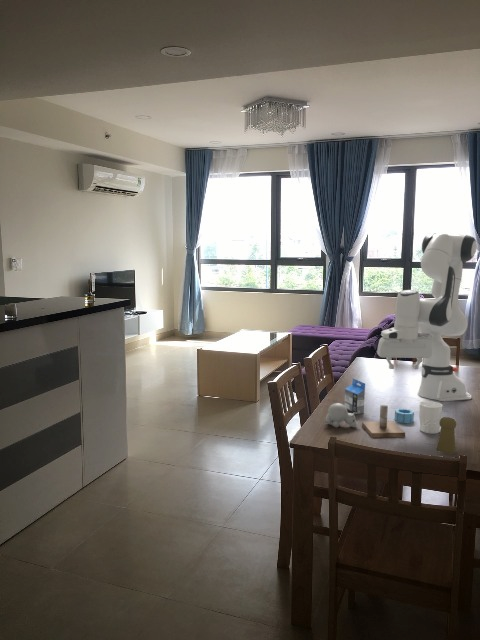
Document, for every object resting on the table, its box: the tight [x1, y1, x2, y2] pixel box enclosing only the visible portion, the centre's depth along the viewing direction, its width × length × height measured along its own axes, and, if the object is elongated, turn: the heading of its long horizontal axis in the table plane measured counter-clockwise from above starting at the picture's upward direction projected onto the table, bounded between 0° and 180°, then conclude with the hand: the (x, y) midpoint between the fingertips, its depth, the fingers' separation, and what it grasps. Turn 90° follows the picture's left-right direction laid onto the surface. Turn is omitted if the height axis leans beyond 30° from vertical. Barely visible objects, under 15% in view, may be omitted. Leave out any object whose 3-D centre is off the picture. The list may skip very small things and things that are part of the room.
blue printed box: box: [344, 378, 366, 415], centre depth 218 cm, size 9×4×12 cm, turn 23°
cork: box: [436, 416, 457, 455], centre depth 177 cm, size 6×6×11 cm
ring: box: [394, 408, 415, 424], centre depth 206 cm, size 7×7×4 cm
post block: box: [361, 404, 406, 438], centre depth 194 cm, size 12×12×10 cm
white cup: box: [418, 400, 443, 435], centre depth 195 cm, size 8×8×10 cm
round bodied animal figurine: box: [324, 402, 360, 428], centre depth 199 cm, size 7×12×8 cm, turn 72°
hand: (403, 368), depth 204 cm, fingers open, 8 cm apart
